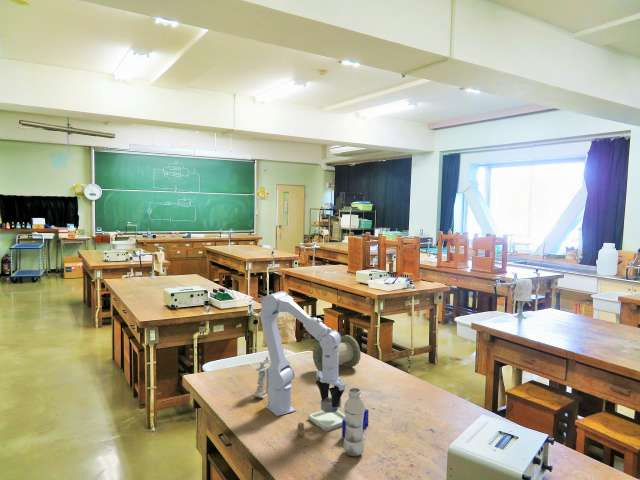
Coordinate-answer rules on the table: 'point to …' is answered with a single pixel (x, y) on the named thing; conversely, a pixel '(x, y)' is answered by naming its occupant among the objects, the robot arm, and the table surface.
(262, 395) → the white figurine
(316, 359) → the spool
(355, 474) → the table surface
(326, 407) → the grey octagonal ring
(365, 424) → the cable clip
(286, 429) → the table surface
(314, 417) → the tray
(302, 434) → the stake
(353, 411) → the plastic bottle
